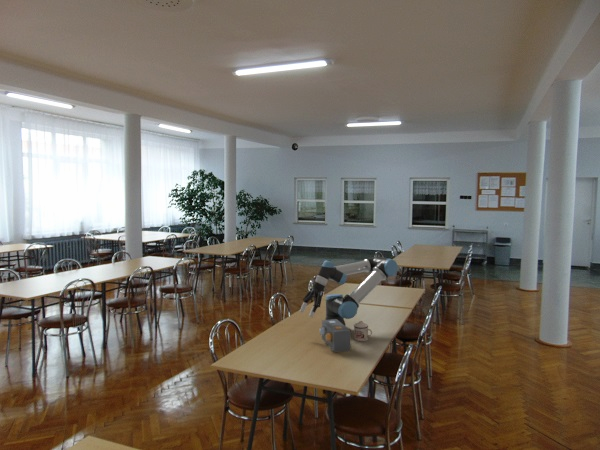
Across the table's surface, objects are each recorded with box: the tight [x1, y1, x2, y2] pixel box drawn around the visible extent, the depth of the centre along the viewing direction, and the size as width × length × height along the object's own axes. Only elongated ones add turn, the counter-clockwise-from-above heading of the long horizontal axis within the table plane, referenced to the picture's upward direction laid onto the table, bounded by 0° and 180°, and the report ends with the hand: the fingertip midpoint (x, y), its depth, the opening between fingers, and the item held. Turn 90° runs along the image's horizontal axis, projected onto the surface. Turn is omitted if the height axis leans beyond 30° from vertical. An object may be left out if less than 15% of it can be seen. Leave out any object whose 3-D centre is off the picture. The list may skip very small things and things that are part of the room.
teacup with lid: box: [353, 320, 373, 342], centre depth 265 cm, size 12×9×12 cm
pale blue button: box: [319, 326, 326, 336], centre depth 261 cm, size 4×4×4 cm
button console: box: [321, 319, 351, 353], centre depth 257 cm, size 10×24×12 cm, turn 14°
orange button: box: [325, 333, 332, 341], centre depth 249 cm, size 4×4×4 cm
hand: (305, 314), depth 265 cm, fingers open, 13 cm apart
